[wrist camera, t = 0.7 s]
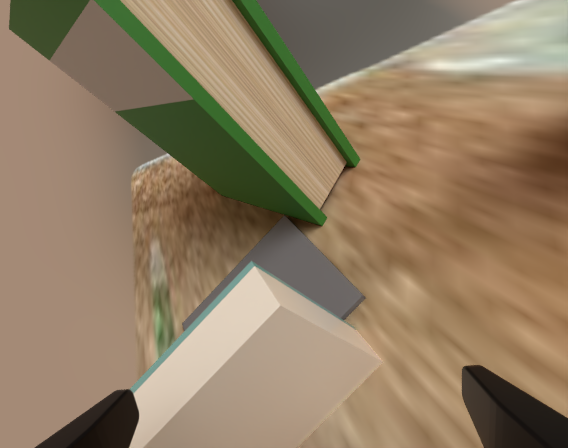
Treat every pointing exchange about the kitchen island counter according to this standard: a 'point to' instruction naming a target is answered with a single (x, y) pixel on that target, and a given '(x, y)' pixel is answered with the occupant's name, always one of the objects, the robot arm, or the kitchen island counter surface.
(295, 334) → the tile
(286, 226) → the mat
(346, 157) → the hardback book
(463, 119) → the kitchen island counter surface
